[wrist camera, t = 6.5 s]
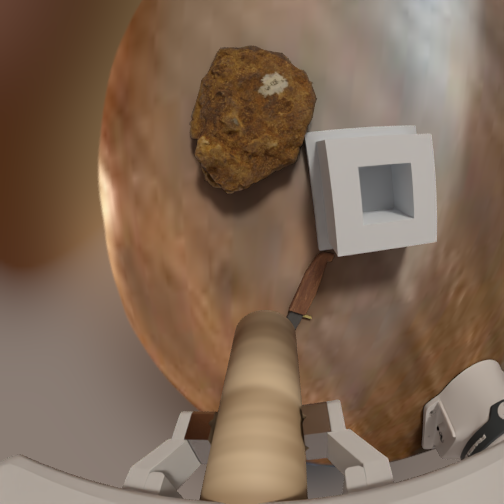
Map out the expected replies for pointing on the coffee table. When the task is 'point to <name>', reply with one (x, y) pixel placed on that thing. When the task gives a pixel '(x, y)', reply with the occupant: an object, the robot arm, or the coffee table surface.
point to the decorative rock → (250, 116)
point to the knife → (308, 288)
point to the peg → (259, 418)
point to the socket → (372, 188)
